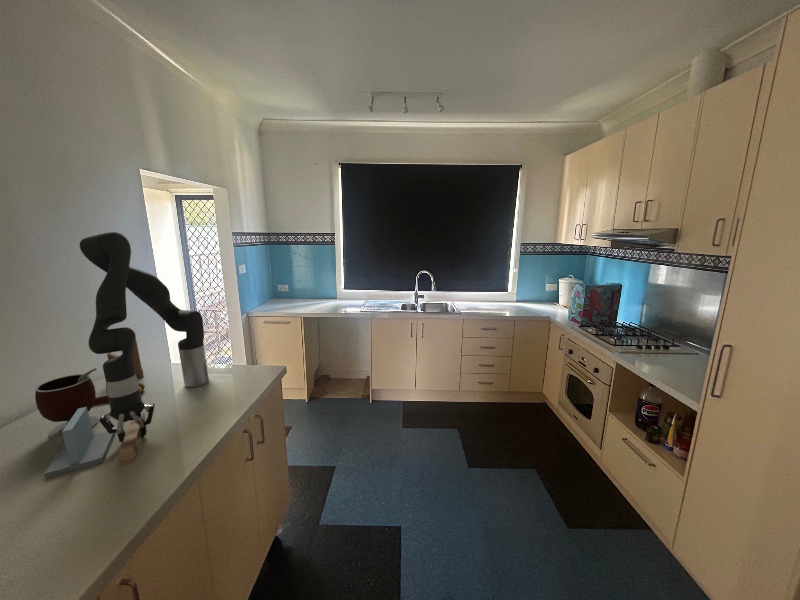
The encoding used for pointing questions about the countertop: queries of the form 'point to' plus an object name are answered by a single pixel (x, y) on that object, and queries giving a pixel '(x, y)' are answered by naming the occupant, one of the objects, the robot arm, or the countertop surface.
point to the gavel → (105, 398)
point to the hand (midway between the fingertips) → (133, 438)
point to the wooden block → (135, 361)
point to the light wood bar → (130, 442)
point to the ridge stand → (79, 446)
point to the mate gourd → (65, 399)
